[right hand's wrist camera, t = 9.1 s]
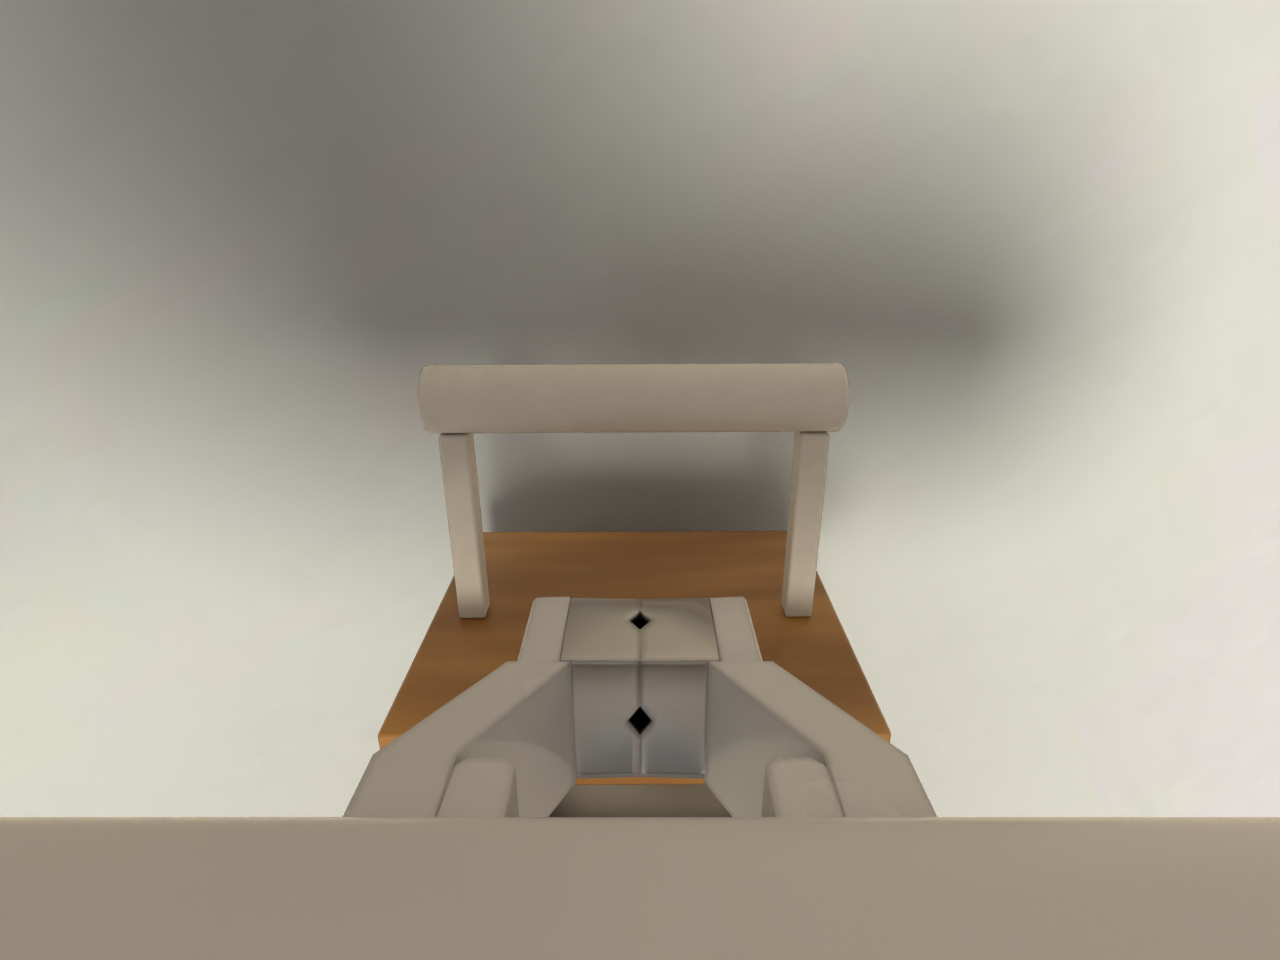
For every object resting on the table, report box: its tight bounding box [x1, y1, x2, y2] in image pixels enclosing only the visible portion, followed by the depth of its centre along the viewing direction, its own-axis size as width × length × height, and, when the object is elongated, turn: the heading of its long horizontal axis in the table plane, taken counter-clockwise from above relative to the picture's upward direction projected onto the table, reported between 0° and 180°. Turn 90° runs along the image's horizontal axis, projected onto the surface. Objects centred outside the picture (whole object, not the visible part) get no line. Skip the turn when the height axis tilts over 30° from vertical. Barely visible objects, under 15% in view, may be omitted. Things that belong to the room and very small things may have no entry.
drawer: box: [378, 363, 891, 817], centre depth 19 cm, size 25×9×8 cm, turn 0°
